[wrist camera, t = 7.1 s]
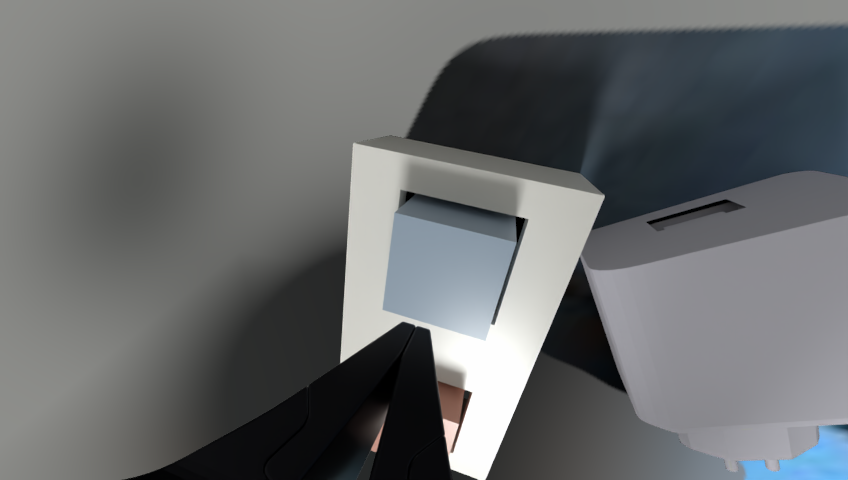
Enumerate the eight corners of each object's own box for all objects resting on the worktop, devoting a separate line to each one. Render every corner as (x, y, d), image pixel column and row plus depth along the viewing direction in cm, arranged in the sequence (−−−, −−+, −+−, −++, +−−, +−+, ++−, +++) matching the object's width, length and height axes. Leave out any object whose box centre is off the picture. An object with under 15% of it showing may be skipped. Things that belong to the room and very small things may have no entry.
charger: (637, 432, 20) (571, 233, 17) (827, 420, 17) (798, 165, 13) (671, 516, 16) (592, 275, 12) (932, 523, 13) (934, 192, 9)
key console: (489, 416, 23) (484, 481, 19) (365, 374, 25) (336, 425, 21) (580, 173, 15) (605, 195, 11) (390, 135, 17) (353, 143, 13)
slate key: (491, 286, 17) (485, 340, 13) (411, 264, 18) (382, 309, 14) (515, 206, 15) (516, 242, 11) (424, 186, 16) (394, 212, 12)
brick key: (455, 407, 21) (441, 477, 17) (391, 385, 22) (365, 448, 18) (469, 358, 19) (458, 424, 15) (400, 336, 20) (371, 393, 16)
